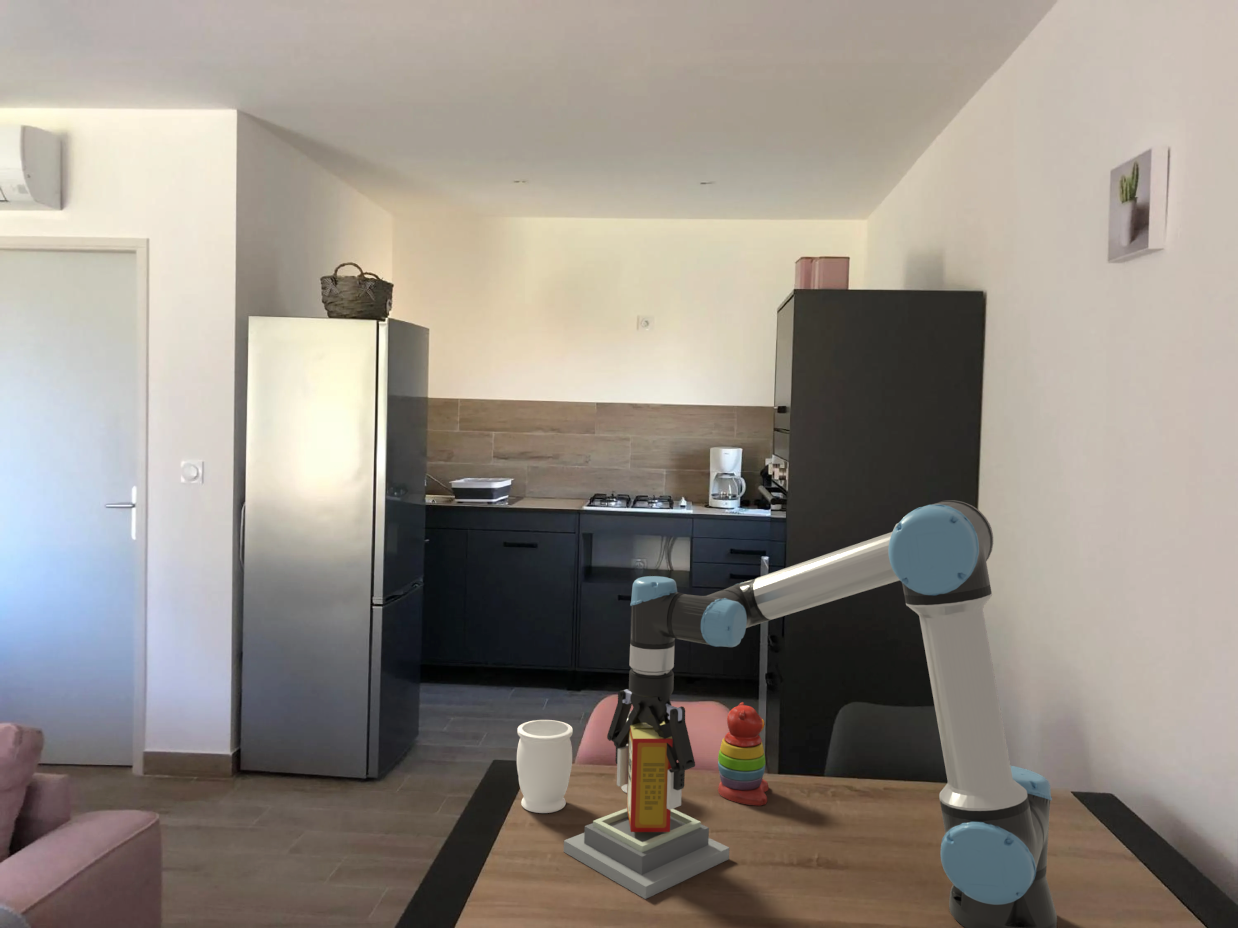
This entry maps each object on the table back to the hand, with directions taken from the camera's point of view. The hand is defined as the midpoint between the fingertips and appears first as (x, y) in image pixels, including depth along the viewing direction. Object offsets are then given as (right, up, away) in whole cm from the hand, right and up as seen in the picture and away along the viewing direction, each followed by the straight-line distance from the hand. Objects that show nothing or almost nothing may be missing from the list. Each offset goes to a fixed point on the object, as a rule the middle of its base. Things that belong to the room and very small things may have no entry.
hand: (648, 795), depth 157 cm
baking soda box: (0, -4, 0) cm, 4 cm away
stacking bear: (+20, -10, +27) cm, 35 cm away
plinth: (0, -11, +1) cm, 11 cm away
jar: (-20, -9, +20) cm, 29 cm away
